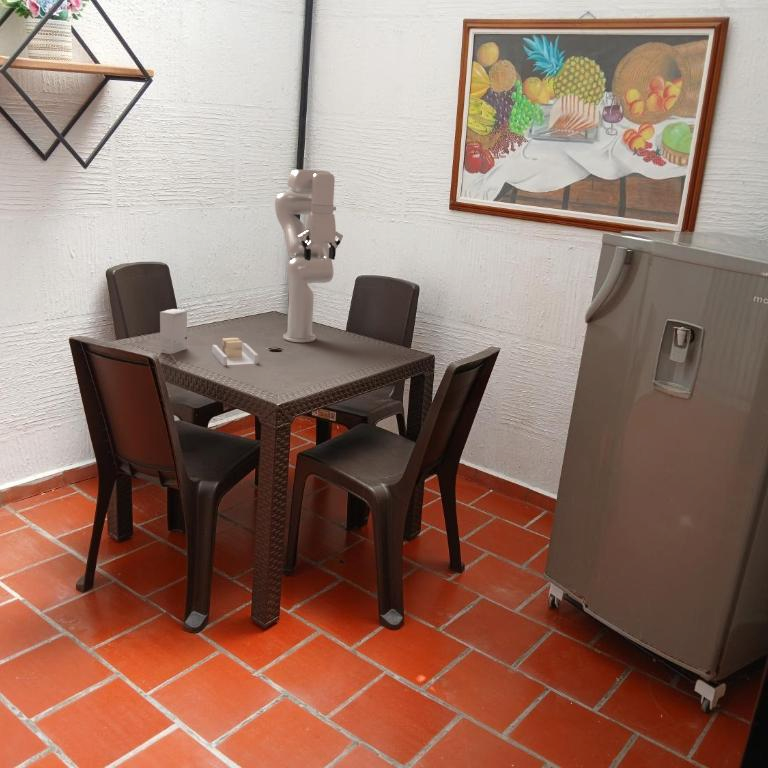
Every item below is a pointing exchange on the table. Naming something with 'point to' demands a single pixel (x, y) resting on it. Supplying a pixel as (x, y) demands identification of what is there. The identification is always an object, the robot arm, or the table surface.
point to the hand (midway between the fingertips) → (319, 259)
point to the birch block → (232, 347)
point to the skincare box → (173, 331)
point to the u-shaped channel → (247, 357)
